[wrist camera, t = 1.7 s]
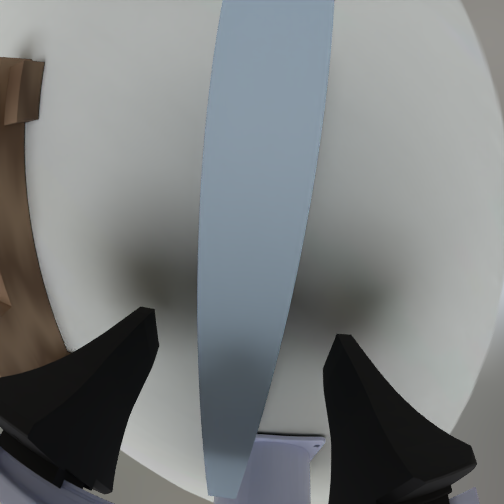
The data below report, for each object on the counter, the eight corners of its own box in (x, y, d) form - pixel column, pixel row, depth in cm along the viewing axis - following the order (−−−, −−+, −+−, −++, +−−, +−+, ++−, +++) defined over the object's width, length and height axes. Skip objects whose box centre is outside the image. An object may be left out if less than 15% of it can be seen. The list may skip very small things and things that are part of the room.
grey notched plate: (253, 67, 8) (225, -13, 3) (300, 73, 8) (334, -2, 2) (221, 420, 16) (208, 495, 11) (244, 423, 16) (235, 499, 11)
